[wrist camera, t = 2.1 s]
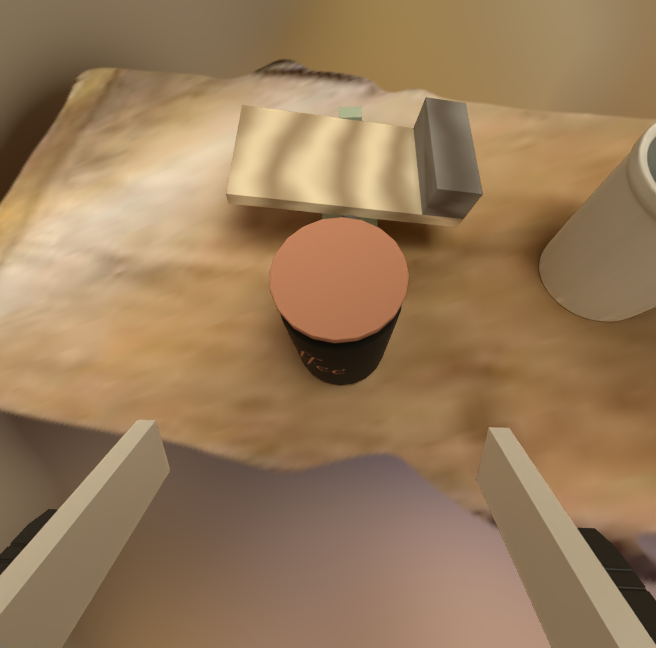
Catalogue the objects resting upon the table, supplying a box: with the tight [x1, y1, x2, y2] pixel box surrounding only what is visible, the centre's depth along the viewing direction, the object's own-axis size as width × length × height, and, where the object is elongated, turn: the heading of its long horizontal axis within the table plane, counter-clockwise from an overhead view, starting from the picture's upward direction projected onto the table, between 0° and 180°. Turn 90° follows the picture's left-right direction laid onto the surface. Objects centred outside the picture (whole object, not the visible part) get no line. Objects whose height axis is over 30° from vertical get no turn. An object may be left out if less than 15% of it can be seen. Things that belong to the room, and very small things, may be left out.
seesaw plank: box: [226, 97, 483, 227], centre depth 38 cm, size 27×16×7 cm, turn 89°
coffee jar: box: [270, 217, 409, 385], centre depth 33 cm, size 11×11×18 cm
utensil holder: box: [539, 123, 656, 322], centre depth 35 cm, size 15×15×18 cm
